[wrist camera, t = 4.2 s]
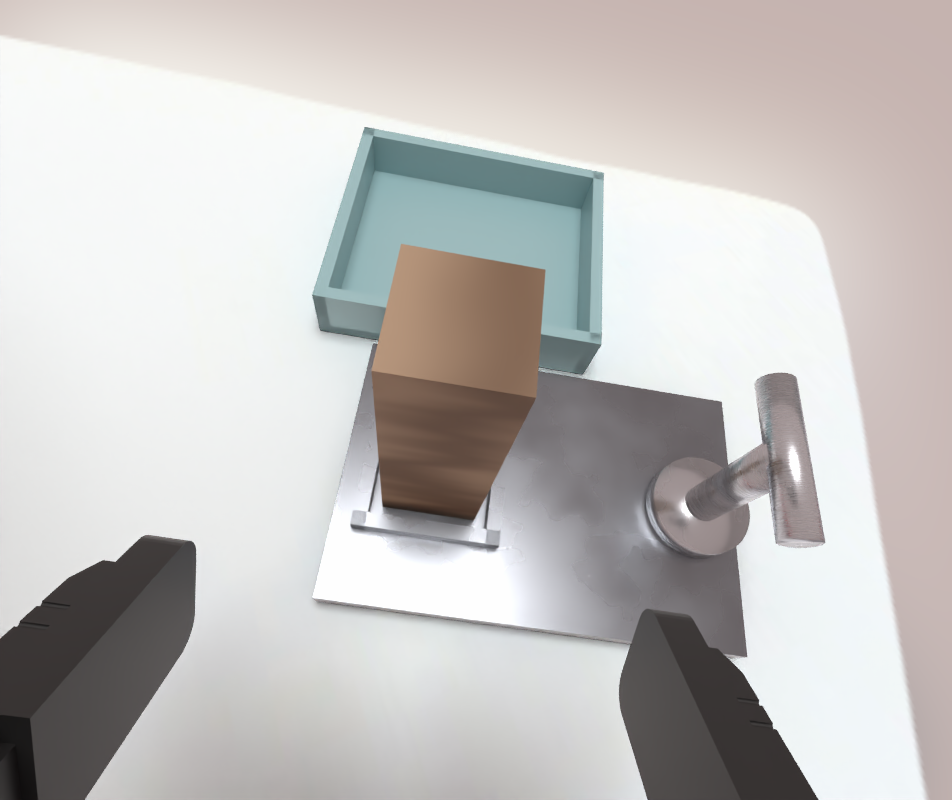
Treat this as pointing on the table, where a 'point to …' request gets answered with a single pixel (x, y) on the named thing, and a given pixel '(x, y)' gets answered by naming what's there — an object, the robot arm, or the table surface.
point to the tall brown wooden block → (453, 377)
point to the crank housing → (583, 517)
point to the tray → (467, 234)
